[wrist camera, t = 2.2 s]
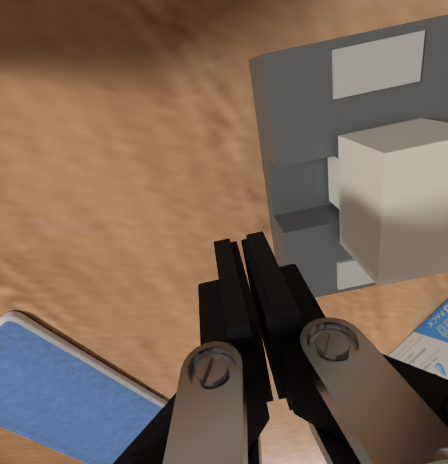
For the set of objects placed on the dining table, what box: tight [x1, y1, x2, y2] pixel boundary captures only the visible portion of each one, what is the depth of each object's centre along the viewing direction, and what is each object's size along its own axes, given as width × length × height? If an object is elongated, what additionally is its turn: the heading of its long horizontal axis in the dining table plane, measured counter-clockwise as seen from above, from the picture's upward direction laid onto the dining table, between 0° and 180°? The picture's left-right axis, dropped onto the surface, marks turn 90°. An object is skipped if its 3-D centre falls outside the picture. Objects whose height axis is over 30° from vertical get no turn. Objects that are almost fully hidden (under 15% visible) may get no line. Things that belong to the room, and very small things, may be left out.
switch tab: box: [328, 118, 448, 286], centre depth 15 cm, size 6×4×7 cm, turn 11°
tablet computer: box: [0, 311, 168, 464], centre depth 28 cm, size 19×13×1 cm, turn 41°
